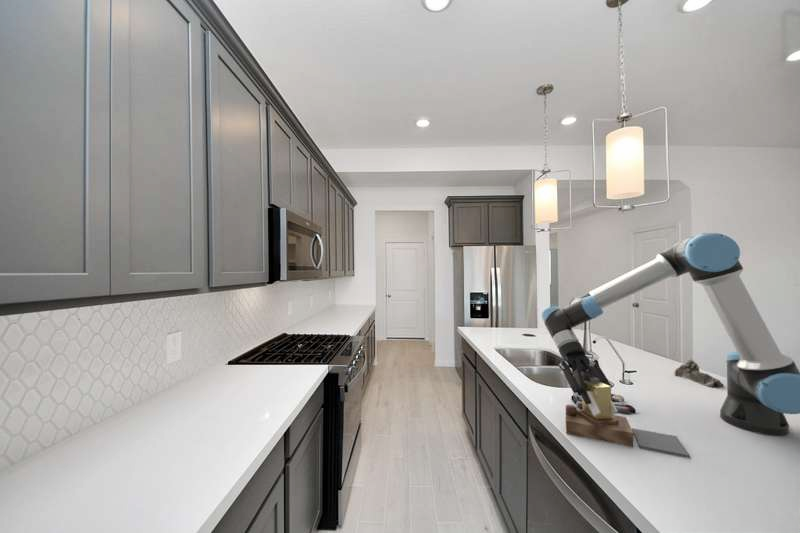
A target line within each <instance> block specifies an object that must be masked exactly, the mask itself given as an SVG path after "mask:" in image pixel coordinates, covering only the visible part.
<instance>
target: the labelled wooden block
mask: <svg viewBox="0 0 800 533" xmlns="http://www.w3.org/2000/svg"><path fill="white" fill-rule="evenodd" d="M584 384H585V387H586V392H587V391H590V393H591V395H592V397H593V399H594V401H595V403H596V404H597V406H598V408H599V410H600V412H601V413H600V414H598V415H597V416H593V414H592V412H591V410H590V408H589V406H588V404H586V403H585V402H584V400H583V398H582V412H583V413H584V414H586V415H588V416H589V417H591V418H592V419H594V420H596V421H602V420H611V394H612V387H611V386H612V385H611V386H609V385H606V384H604V383H602V382H600V381H599V379H598V378H596V377H588V376H587V377H585V380H584Z"/></svg>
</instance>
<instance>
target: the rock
mask: <svg viewBox="0 0 800 533" xmlns="http://www.w3.org/2000/svg"><path fill="white" fill-rule="evenodd" d="M673 374H674V375H675V377H680V376H681V378H683V379H687V380H690V381H692V382H695V383H697V384H699V385H701V386H705V387H710V388H717V389H719V388H722V387H724V384H723V383H722V381H721V380H719V379H718V378H715V377H714V376H711V375H710V374H708V373H705V372H701V371H700V366H699V365H698V363H696V362H695V361H694V360H692V359H691V358H690V359H687V360H686V362H684V363H682V364H681V365H680V366H679V367H678V368H675V369H674V371H673Z"/></svg>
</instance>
